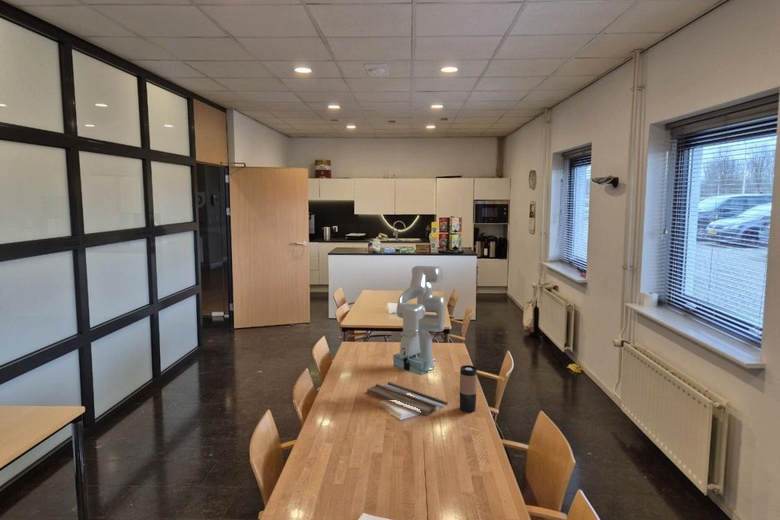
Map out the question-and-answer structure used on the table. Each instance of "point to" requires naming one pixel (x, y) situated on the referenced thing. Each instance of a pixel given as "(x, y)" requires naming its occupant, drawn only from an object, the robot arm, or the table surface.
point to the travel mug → (468, 388)
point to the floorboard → (407, 397)
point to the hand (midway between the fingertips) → (410, 368)
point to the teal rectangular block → (411, 364)
